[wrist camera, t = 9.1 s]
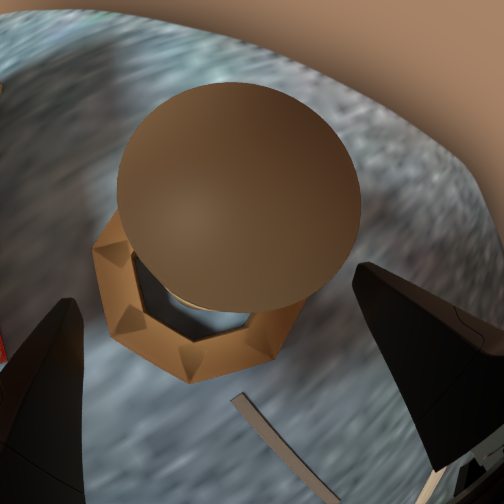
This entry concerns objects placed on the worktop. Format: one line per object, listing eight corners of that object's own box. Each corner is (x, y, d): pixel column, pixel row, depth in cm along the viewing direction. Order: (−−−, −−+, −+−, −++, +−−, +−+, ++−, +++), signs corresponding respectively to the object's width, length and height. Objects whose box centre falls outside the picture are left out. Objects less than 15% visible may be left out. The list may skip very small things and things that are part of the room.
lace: (336, 498, 16) (340, 501, 16) (328, 504, 16) (331, 508, 16) (239, 390, 17) (242, 393, 16) (228, 398, 16) (230, 401, 16)
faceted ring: (317, 338, 18) (328, 340, 16) (133, 389, 15) (129, 397, 13) (268, 164, 19) (274, 153, 18) (91, 200, 16) (84, 191, 15)
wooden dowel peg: (255, 276, 18) (397, 207, 6) (198, 325, 16) (234, 370, 4) (207, 219, 18) (257, 56, 6) (148, 266, 16) (72, 163, 4)
